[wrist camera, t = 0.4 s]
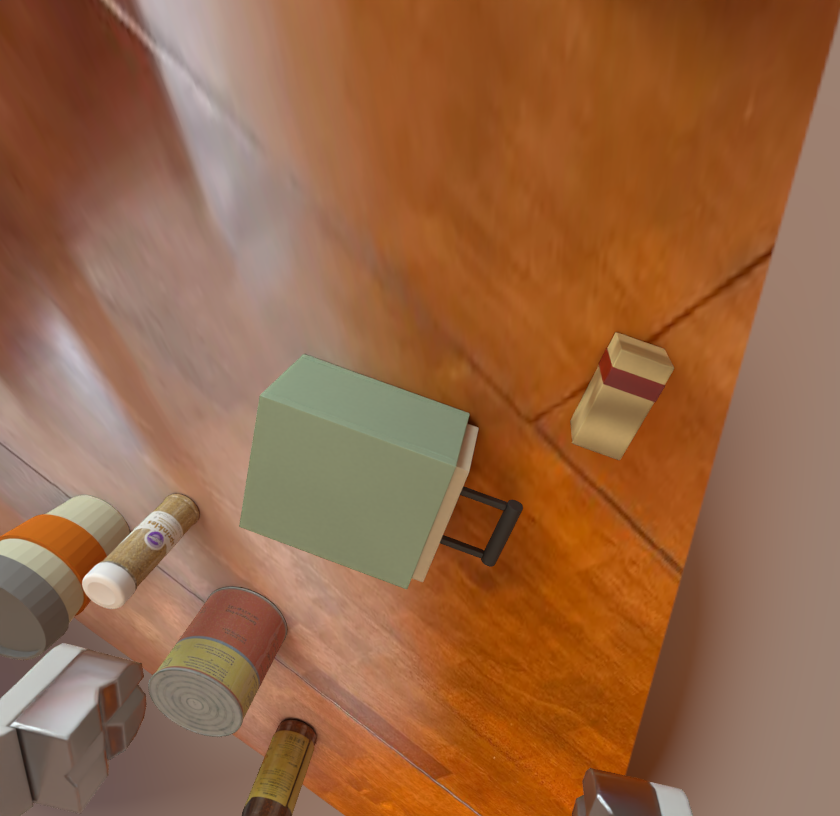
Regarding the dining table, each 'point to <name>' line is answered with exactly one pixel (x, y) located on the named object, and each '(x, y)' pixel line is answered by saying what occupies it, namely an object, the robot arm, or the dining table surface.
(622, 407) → the tan and red block
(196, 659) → the canned food
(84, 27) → the dining table surface
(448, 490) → the drawer
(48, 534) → the reusable coffee cup
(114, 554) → the sprinkles bottle
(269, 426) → the cabinet
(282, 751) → the sauce bottle
